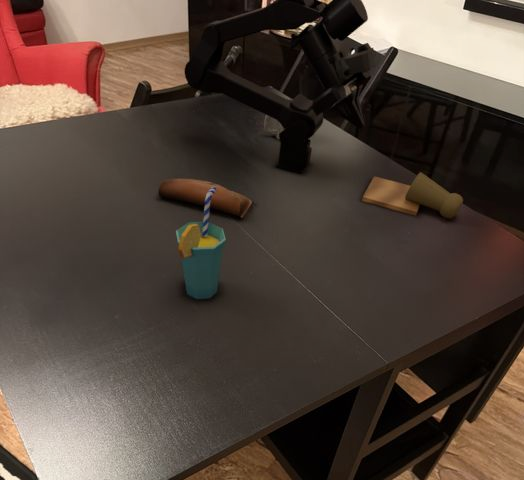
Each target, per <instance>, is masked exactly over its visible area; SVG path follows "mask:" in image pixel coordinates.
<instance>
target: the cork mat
mask: <svg viewBox="0 0 524 480" xmlns="http://www.w3.org/2000/svg"><path fill="white" fill-rule="evenodd" d="M410 186H411V185H409V184H405V183H402V182H398V181H394V180H390V179H386V178H382V177H380V176H379V177H378V176H373V178H372V180H371V182H370V183H369V185H368V187H367V189H366V190H365V191H364V194H363V195H362V199H361V202H364V203H367V204H371V205H375V206H379V207H382V208H386V209H390V210H393V211H397V212H401V213H404V214H408V215H410V216H411V215H412V216H415V217H416V216H417V214H418V211H419V208H420V206H421V204H418V203H416V202H413V201H410V200H408V199H405V196H406V194H407V192H408V190H409V188H410Z"/></svg>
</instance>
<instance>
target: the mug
mask: <svg viewBox="0 0 524 480" xmlns="http://www.w3.org/2000/svg"><path fill="white" fill-rule="evenodd" d="M271 118H272V117H270V116H268V115H266V114H265V116H264V123H263V129H264V132H266V133H267V134H272V135H275V137H276V139H277V140H279V141H280V139H279V133H280V132H281V131H282V130H283V129H284V128H283V126H282V125H281V124H280V123H279V121H277V120H276V121H277V122H276V128H270V127H269V121H270V119H271Z"/></svg>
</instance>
